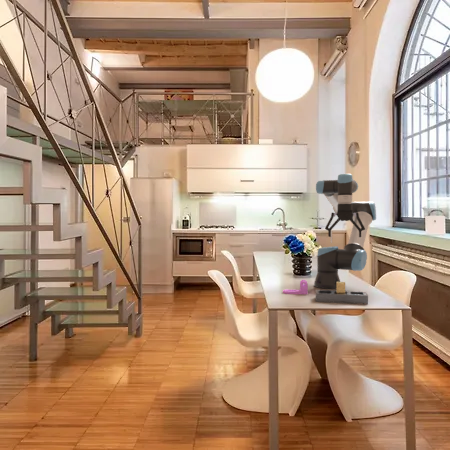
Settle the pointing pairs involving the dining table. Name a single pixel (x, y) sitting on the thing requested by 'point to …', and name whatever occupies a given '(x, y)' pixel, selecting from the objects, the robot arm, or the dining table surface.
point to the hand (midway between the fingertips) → (344, 243)
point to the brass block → (340, 287)
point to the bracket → (302, 290)
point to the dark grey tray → (341, 297)
